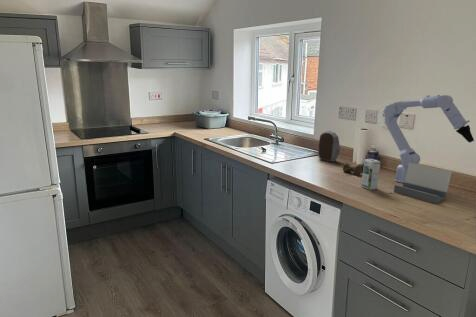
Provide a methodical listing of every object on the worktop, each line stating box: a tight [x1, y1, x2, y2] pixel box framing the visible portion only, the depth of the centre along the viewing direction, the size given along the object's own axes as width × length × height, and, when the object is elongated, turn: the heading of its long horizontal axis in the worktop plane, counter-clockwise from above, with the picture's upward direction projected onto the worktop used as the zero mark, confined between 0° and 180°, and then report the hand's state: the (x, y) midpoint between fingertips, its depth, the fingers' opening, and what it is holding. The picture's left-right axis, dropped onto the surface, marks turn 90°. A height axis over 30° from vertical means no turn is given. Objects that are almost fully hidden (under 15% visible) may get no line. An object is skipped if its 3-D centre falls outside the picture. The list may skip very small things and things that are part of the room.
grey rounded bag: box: [317, 130, 341, 162], centre depth 238 cm, size 15×8×20 cm, turn 41°
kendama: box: [342, 162, 364, 176], centre depth 212 cm, size 6×10×20 cm
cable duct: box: [393, 182, 447, 204], centre depth 173 cm, size 20×10×4 cm, turn 39°
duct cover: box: [405, 163, 453, 193], centre depth 176 cm, size 20×10×1 cm
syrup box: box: [360, 158, 382, 191], centre depth 182 cm, size 6×6×14 cm
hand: (471, 141), depth 169 cm, fingers open, 7 cm apart
